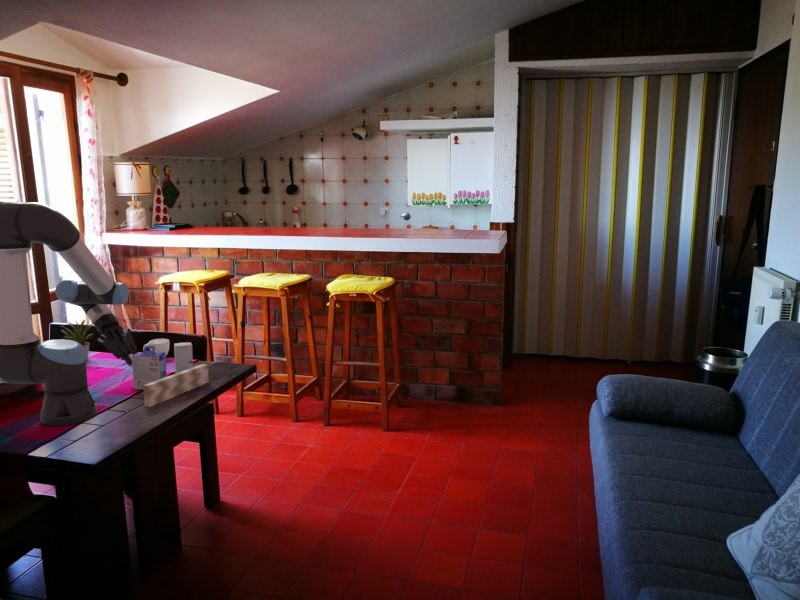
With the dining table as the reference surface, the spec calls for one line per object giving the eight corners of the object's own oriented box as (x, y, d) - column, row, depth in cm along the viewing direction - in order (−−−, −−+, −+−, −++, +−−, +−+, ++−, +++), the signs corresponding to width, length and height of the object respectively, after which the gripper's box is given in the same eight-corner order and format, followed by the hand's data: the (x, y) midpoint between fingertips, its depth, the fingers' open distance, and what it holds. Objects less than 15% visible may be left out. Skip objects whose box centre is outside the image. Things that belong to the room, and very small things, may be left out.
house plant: (98, 351, 254) (94, 313, 251) (107, 359, 244) (104, 319, 241) (60, 357, 245) (56, 318, 242) (68, 366, 235) (63, 325, 232)
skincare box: (176, 378, 222) (174, 346, 220) (175, 374, 226) (173, 343, 224) (194, 376, 225) (192, 344, 222) (192, 372, 229) (190, 341, 226)
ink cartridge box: (168, 384, 215) (165, 345, 212) (161, 390, 210) (158, 349, 207) (140, 384, 215) (137, 344, 213) (133, 389, 210) (130, 349, 207)
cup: (170, 358, 246) (169, 342, 244) (143, 361, 242) (142, 345, 241) (170, 353, 253) (169, 337, 251) (144, 356, 249) (142, 340, 248)
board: (149, 407, 195) (147, 386, 193) (144, 405, 196) (143, 385, 194) (208, 383, 217) (207, 364, 216) (204, 382, 218) (203, 363, 217)
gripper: (114, 321, 226) (149, 371, 223) (82, 329, 215) (118, 382, 211) (123, 309, 223) (158, 359, 219) (91, 316, 212) (128, 369, 208)
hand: (138, 370), depth 215 cm, fingers closed
